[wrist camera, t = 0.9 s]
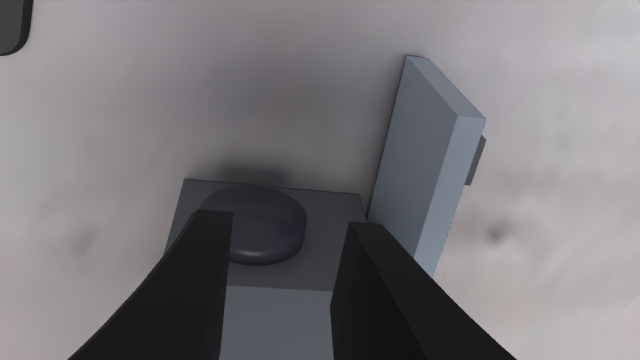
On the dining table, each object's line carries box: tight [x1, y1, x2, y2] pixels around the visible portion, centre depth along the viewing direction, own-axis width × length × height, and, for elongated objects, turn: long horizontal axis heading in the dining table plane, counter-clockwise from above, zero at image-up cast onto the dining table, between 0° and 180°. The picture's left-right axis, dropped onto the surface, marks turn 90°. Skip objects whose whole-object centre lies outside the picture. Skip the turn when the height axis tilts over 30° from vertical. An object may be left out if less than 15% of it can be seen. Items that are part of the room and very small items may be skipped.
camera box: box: [164, 179, 367, 360], centre depth 20 cm, size 10×7×7 cm
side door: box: [367, 56, 486, 278], centre depth 20 cm, size 16×2×6 cm, turn 171°
